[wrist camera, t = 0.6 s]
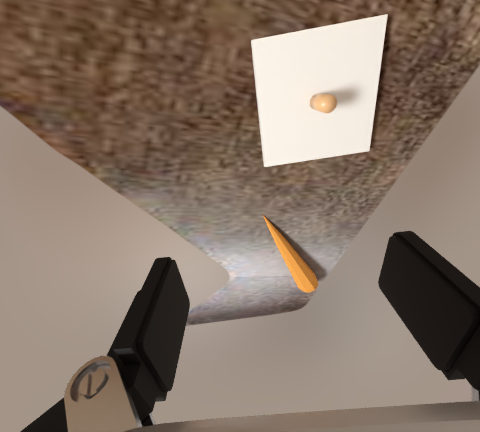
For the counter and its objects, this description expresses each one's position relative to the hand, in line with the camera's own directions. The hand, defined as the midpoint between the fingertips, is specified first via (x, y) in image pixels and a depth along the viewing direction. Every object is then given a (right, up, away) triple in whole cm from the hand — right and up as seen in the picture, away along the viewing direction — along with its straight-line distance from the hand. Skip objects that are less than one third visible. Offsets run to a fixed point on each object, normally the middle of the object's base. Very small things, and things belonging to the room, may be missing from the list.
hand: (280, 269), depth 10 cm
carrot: (+8, -4, +36) cm, 37 cm away
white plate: (+9, +19, +22) cm, 30 cm away
